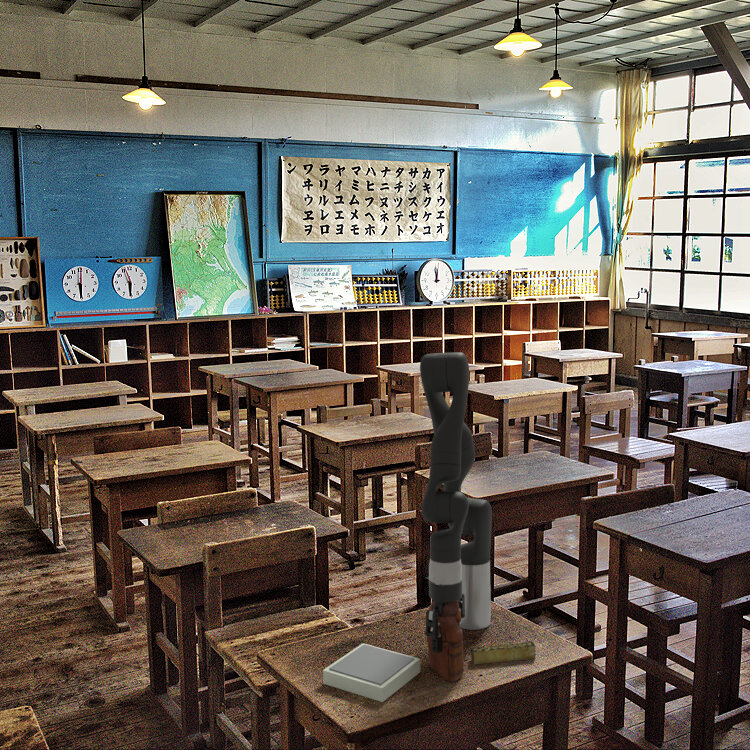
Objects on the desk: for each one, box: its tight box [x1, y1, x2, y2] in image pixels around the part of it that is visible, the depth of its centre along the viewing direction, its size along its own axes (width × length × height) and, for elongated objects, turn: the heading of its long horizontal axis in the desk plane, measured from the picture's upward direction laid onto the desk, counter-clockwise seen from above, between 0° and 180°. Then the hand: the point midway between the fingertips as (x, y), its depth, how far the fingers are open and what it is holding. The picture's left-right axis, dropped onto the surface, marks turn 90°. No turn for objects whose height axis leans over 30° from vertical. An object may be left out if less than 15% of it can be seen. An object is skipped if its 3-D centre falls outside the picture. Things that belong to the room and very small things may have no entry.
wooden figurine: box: [426, 600, 464, 683], centre depth 201 cm, size 12×6×18 cm, turn 27°
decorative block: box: [470, 641, 536, 665], centre depth 207 cm, size 15×2×4 cm, turn 99°
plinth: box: [322, 642, 421, 703], centre depth 199 cm, size 16×16×4 cm
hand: (446, 645), depth 201 cm, fingers closed on wooden figurine, 8 cm apart
